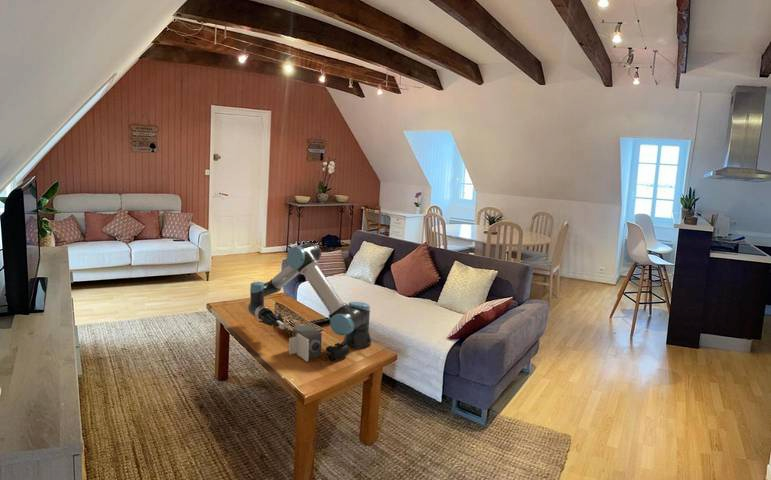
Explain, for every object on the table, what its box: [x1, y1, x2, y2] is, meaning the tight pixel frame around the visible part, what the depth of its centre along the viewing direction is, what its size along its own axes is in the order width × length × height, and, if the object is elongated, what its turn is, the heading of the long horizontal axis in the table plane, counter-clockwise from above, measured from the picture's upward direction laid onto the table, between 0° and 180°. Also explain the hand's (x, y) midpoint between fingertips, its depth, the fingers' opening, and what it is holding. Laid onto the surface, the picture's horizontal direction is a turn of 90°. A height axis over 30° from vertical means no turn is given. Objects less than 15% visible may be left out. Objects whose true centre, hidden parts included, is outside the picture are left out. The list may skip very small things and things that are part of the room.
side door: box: [288, 333, 310, 362], centre depth 243 cm, size 6×10×11 cm, turn 38°
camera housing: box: [292, 324, 323, 359], centre depth 251 cm, size 9×16×12 cm, turn 38°
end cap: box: [325, 342, 350, 362], centre depth 248 cm, size 10×7×7 cm
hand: (283, 326), depth 254 cm, fingers closed
